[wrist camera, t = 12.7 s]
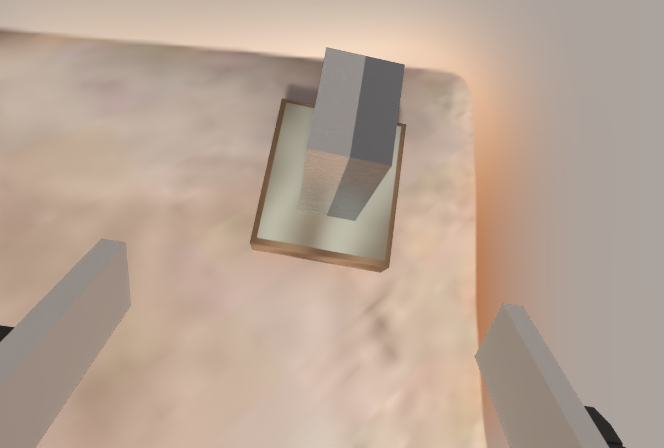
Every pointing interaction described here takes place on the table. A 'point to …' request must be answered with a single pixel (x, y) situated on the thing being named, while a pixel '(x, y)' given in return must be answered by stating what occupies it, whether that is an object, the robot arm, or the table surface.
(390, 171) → the tray
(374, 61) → the block
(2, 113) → the table surface
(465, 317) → the table surface
